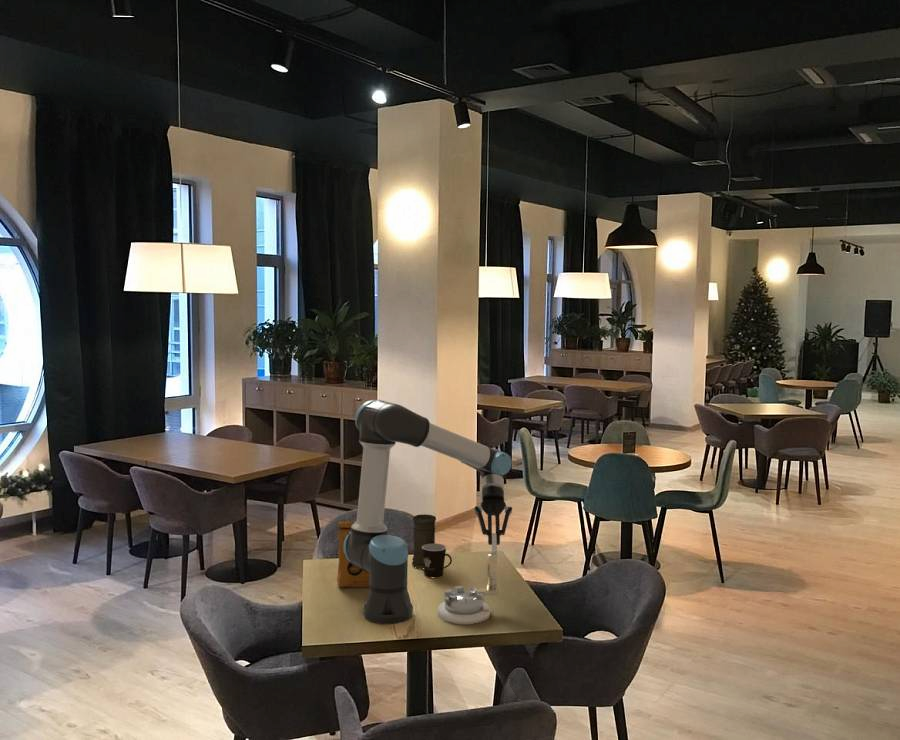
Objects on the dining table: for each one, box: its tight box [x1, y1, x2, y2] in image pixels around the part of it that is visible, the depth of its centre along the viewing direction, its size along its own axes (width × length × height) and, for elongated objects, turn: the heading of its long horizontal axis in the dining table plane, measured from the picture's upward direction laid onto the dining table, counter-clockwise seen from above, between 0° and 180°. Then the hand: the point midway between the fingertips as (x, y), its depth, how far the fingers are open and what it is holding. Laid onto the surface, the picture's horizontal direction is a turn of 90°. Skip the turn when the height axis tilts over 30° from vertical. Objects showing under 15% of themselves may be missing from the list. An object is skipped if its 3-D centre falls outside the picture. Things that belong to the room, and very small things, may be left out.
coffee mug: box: [422, 543, 453, 578], centre depth 288 cm, size 12×9×10 cm
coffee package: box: [336, 521, 370, 588], centre depth 278 cm, size 10×12×22 cm
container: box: [411, 514, 437, 569], centre depth 299 cm, size 9×9×18 cm
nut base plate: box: [437, 601, 491, 625], centre depth 254 cm, size 16×16×2 cm
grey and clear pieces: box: [444, 552, 499, 615], centre depth 253 cm, size 16×12×16 cm
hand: (494, 553), depth 266 cm, fingers closed
